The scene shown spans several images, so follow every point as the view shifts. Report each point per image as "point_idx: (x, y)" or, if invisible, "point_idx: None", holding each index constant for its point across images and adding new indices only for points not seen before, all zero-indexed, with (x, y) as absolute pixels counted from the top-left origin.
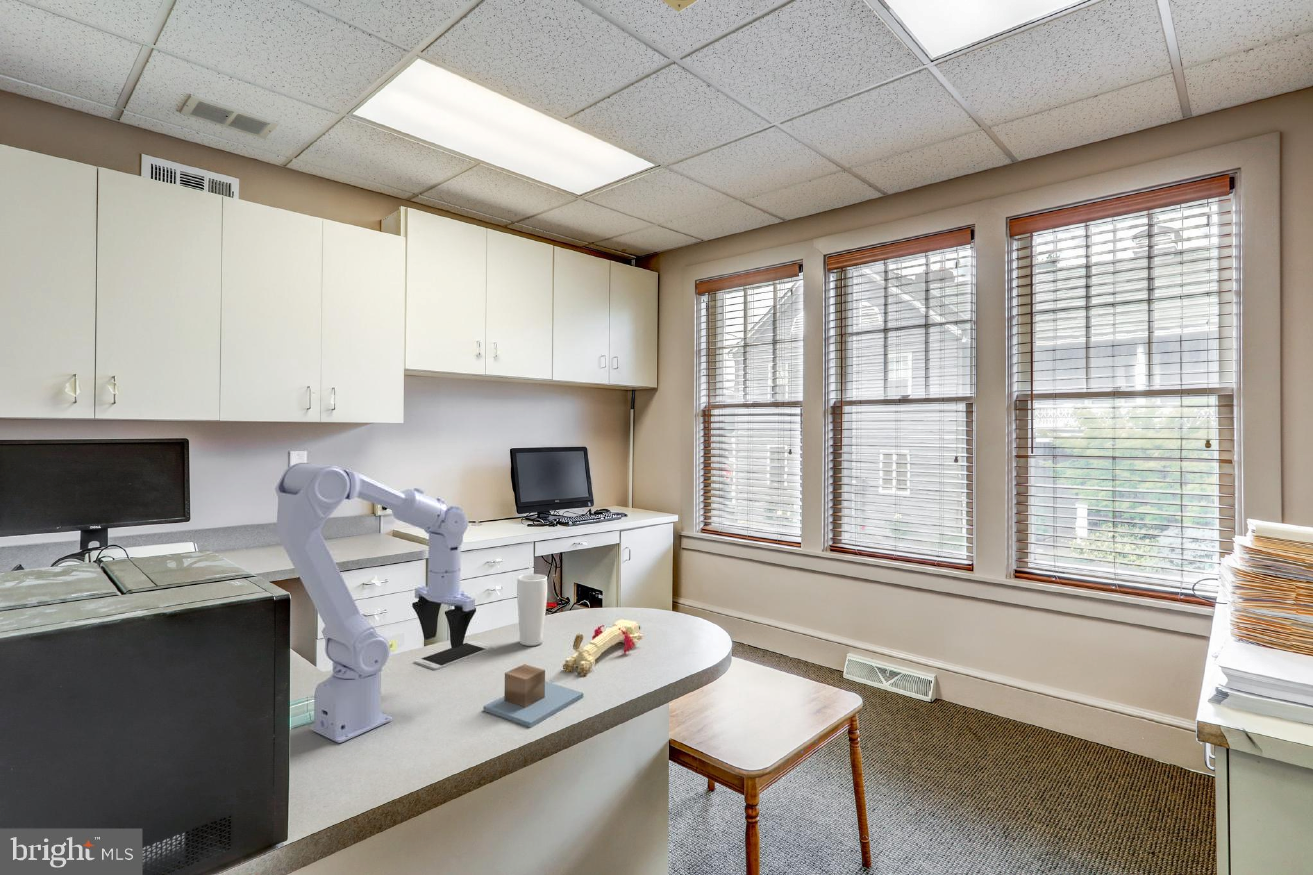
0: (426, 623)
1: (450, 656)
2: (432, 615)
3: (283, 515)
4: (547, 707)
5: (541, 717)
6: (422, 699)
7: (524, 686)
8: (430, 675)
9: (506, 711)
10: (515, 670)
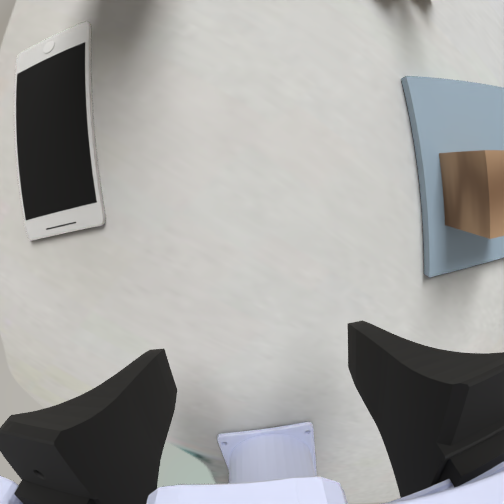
0: (156, 439)
1: (57, 147)
2: (134, 436)
3: None
4: None
5: None
6: (263, 344)
7: None
8: (129, 253)
9: (477, 256)
10: (497, 205)
